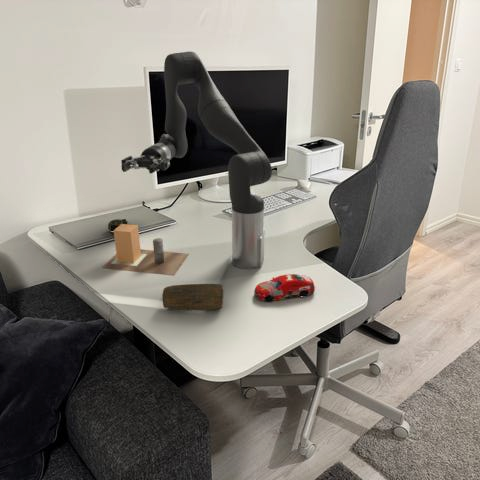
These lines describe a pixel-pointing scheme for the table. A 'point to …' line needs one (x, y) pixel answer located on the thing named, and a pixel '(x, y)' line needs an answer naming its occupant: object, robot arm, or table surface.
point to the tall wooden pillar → (127, 243)
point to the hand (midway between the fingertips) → (136, 169)
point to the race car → (284, 287)
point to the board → (151, 261)
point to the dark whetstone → (193, 297)
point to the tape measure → (116, 224)
